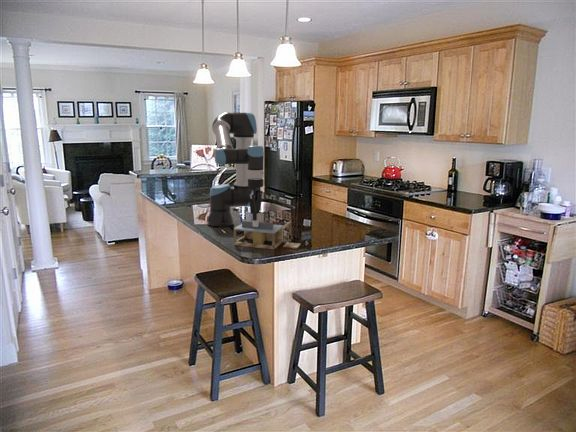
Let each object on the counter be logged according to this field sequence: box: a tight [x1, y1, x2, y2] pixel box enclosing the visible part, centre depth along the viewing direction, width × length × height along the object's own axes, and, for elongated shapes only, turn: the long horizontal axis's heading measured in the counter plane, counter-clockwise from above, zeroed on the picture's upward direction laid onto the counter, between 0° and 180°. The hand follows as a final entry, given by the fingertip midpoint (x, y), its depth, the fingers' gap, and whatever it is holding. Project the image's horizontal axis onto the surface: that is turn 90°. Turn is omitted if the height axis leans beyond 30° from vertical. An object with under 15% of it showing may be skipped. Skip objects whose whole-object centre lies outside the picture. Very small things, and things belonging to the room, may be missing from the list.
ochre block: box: [252, 232, 266, 245], centre depth 217 cm, size 4×4×7 cm
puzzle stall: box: [233, 219, 292, 250], centre depth 224 cm, size 21×28×8 cm
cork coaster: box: [282, 241, 302, 249], centre depth 215 cm, size 7×7×1 cm
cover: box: [233, 219, 284, 234], centre depth 216 cm, size 21×14×4 cm, turn 73°
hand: (255, 226), depth 212 cm, fingers closed
